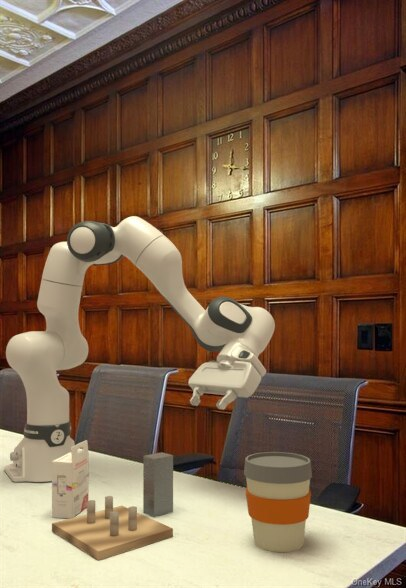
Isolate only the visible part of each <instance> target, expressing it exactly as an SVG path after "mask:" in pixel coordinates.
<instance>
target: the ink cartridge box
mask: <svg viewBox="0 0 406 588" xmlns="http://www.w3.org/2000/svg"><path fill="white" fill-rule="evenodd" d="M80 449H82V450H81V451H79V452H78V450H80ZM89 461H90V459H89V444H88V440H87V439H86V440H84V441H81V442H78V443H77V444H75V446H73V447H71V453H68V454H66V455H64V456H62V457H60V458H58V459H56V460H54V461H52V481H51V518H56V519H57V518H61V519H70V518H74V517H77V515H79V514H80V513H81V512H83V511H84V510H85V509H87V501H89V490H90V489H89V487H90V485H89V483H90V482H89V478H90V477H89V475H90V474H89V472H90V471H89V470H90V468H89V465H90V464H89V463H90V462H89Z"/></svg>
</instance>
